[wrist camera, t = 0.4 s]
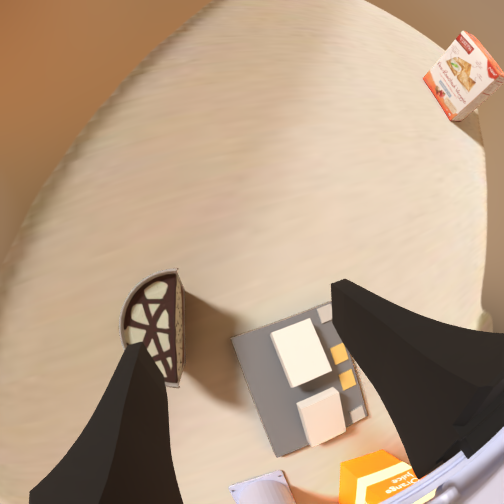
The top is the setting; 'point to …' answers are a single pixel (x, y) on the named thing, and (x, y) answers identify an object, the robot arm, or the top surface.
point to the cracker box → (464, 77)
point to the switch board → (285, 397)
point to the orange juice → (375, 479)
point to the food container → (157, 322)
